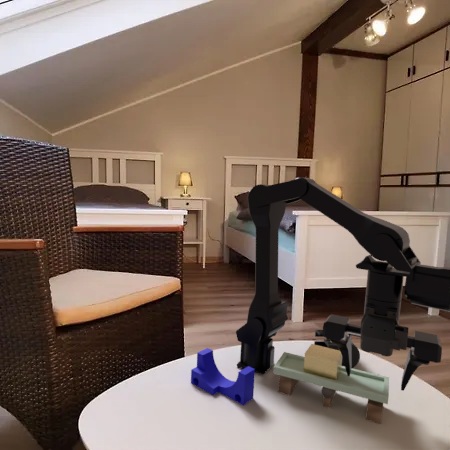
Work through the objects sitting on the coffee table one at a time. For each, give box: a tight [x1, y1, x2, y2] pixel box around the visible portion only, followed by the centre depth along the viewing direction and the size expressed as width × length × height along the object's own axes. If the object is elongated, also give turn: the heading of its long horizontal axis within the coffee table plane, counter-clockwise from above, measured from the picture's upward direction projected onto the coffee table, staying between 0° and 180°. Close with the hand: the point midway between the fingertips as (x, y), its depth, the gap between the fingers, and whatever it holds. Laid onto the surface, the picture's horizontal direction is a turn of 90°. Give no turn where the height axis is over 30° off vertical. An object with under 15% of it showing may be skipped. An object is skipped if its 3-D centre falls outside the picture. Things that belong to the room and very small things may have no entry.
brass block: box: [304, 343, 342, 381], centre depth 69 cm, size 6×5×4 cm
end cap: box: [313, 329, 361, 369], centre depth 84 cm, size 10×7×7 cm
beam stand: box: [277, 375, 384, 425], centre depth 69 cm, size 18×7×4 cm, turn 63°
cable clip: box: [190, 347, 256, 406], centre depth 70 cm, size 12×4×6 cm, turn 49°
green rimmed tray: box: [273, 351, 390, 405], centre depth 69 cm, size 20×7×2 cm, turn 65°
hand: (374, 382), depth 65 cm, fingers open, 8 cm apart
